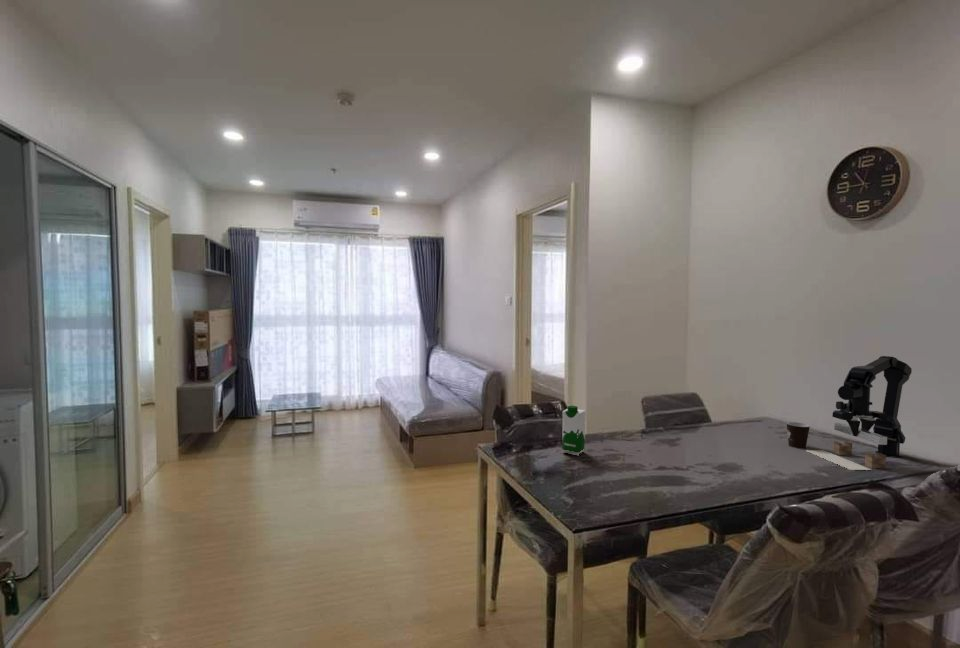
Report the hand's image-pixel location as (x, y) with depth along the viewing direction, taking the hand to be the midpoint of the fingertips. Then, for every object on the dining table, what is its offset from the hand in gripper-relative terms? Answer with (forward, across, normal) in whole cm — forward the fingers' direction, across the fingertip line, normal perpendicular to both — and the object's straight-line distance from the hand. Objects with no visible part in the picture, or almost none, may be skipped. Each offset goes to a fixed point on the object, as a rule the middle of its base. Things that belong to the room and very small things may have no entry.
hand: (859, 436), depth 187 cm
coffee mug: (+10, +11, -20) cm, 25 cm away
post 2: (+10, 0, +8) cm, 13 cm away
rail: (0, 0, 0) cm, 0 cm away
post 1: (+10, 0, -8) cm, 13 cm away
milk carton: (+10, +116, -6) cm, 117 cm away
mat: (+10, +9, 0) cm, 13 cm away
